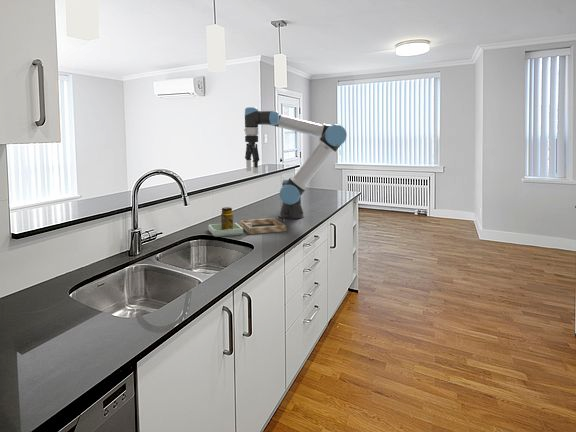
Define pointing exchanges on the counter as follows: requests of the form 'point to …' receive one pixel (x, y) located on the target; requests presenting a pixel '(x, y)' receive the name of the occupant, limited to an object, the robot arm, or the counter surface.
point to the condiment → (226, 219)
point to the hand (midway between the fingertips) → (252, 172)
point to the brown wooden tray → (263, 229)
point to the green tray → (235, 231)
